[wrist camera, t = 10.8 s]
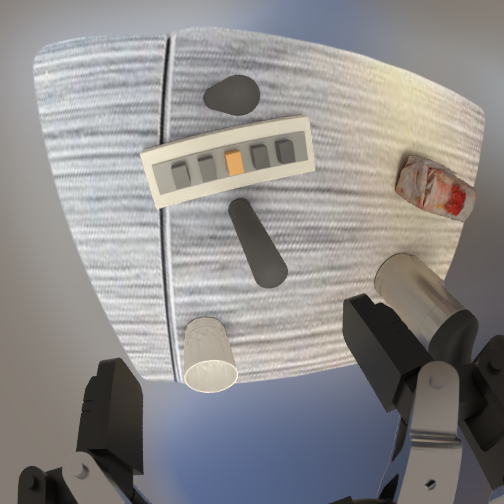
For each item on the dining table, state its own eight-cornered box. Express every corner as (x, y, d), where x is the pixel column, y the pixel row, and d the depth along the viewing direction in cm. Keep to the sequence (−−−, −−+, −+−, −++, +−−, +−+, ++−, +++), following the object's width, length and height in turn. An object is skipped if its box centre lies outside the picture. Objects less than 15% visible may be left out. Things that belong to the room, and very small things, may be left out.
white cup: (219, 307, 47) (229, 353, 39) (233, 339, 51) (244, 384, 43) (174, 321, 47) (175, 369, 38) (191, 352, 51) (196, 397, 42)
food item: (387, 195, 44) (426, 220, 35) (400, 148, 40) (444, 164, 32) (438, 208, 47) (474, 231, 39) (450, 169, 44) (490, 187, 36)
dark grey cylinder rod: (248, 196, 39) (285, 255, 26) (252, 216, 41) (289, 283, 27) (226, 201, 39) (251, 264, 25) (231, 222, 41) (257, 292, 27)
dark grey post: (226, 84, 32) (256, 71, 18) (231, 107, 33) (263, 111, 19) (201, 89, 31) (213, 79, 18) (206, 112, 33) (221, 119, 19)
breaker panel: (299, 114, 35) (316, 117, 31) (306, 165, 39) (323, 175, 34) (143, 149, 33) (136, 157, 29) (158, 201, 37) (154, 216, 32)
